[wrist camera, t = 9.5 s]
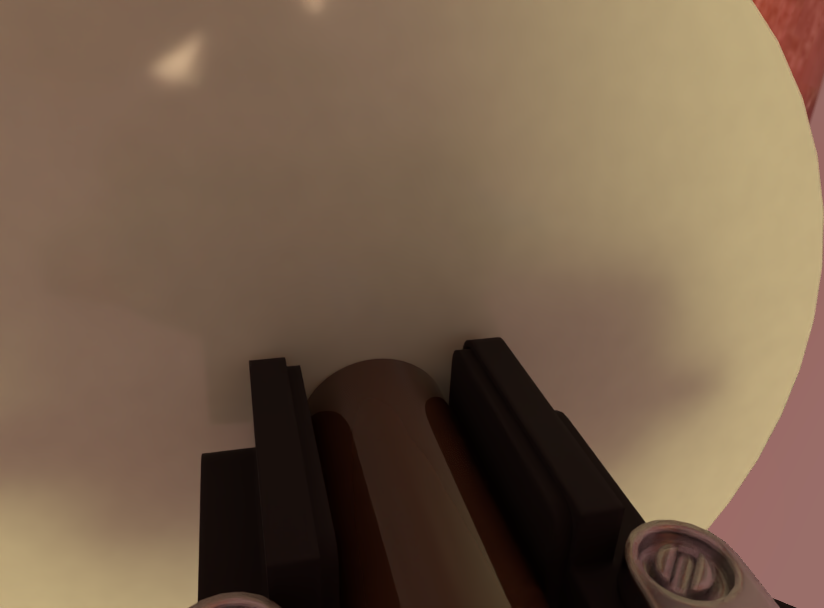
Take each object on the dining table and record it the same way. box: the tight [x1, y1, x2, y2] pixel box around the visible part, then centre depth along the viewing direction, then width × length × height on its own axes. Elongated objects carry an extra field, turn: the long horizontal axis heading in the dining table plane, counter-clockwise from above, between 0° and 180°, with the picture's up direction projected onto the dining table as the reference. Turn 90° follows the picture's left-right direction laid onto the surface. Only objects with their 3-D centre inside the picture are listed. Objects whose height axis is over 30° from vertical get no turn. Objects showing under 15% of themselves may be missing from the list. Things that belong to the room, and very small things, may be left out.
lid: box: [0, 0, 824, 608], centre depth 10 cm, size 17×17×6 cm
